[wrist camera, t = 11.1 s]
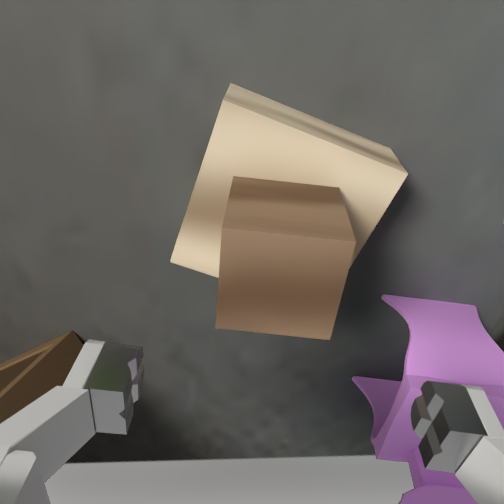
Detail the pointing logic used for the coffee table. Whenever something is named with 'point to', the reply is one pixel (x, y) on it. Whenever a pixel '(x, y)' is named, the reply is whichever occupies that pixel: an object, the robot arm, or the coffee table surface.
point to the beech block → (282, 170)
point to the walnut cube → (283, 258)
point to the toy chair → (432, 369)
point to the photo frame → (36, 373)
